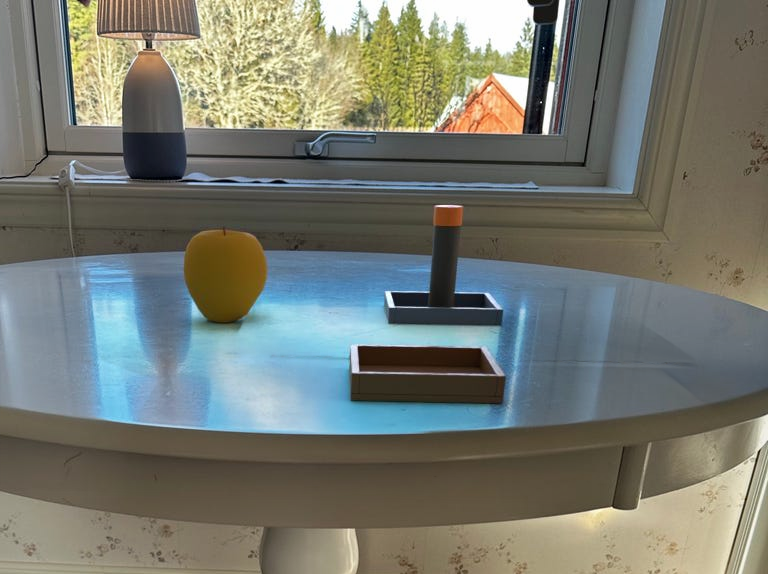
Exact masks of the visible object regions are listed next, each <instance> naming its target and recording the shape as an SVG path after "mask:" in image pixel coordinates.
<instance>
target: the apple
mask: <svg viewBox="0 0 768 574" xmlns="http://www.w3.org/2000/svg"><path fill="white" fill-rule="evenodd" d="M183 258H184V259H183V278H184V279H183V280H184V283H185V285H186V288H187V292H188V293H189V295H190V297H191V299H192V301H193V303H194V304H195V306H196V308H197V309H198V312H200V314H201V315H202V316H203V318H205V319H207V320H208V321H210V322H215V323H223V324H224V323H225V324H226V323H232V322H236V321H239V320H242V319H243V318H244V317H245V316H247V315H248V314H249V312H250V311H251V309H252V308H253V306H254V305H255V303H256V301H258V298H259V297H260V295H261V294H262V293H263V291H264V288H265V286H266V282H267V279H268V262H267V261H268V260H267V256H266V254H265V252H264V248H263V246H262V244H261V243H260V241H259V240H258V239H257V237H256V236H255V235H253V234H251V233H250V232H245V231H244V232H243V231H237V230H230V229H229V230H228V229H226V226H222V229H212V230H203V231H200V232H199V233H198V232H197V234H195V235H194V236H192V237H191V239H190V241H189V242H188V244H187V246H186V249H185V252H184V256H183Z"/></svg>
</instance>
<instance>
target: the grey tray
mask: <svg viewBox="0 0 768 574" xmlns="http://www.w3.org/2000/svg"><path fill="white" fill-rule="evenodd" d="M428 302H429V291H402V290H401V291H399V290H398V291H396V290H392V291H390V290H385V291H384V298H383V307H384V312H385V316H386V320H387V324H388V325H436V326H438V325H440V326H441V325H442V326H488V327H489V326H491V327H492V326H497V327H499V326H500V327H501V326H502V325H503V317H504V309H503V307H502V306H501V305H500V304H499V302H498V301H497V300H496V299H495V298H494V297H493V295H491V293H489V292H467V291H466V292H461V291H460V292H459V291H458V292H457V291H455V296H454V307H453V308H446V307H428Z"/></svg>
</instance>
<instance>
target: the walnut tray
mask: <svg viewBox="0 0 768 574" xmlns="http://www.w3.org/2000/svg"><path fill="white" fill-rule="evenodd" d="M348 366H349V367H348V371H349V374H348V375H349V394H350V395H349V396H350V401H357V402H359V401H360V402H361V401H362V402H368V401H369V402H410V403H411V402H412V403H418V402H419V403H461V404H465V403H466V404H503V403H504V396H505V390H506V380H507V376H506V374H505V372H504V371H503V369H502V368H501V366H500V365H499V363H498V362H497V360H496V359H495V357H494V356H493V353H492V352H491V351H490V349H489V347H488V346H470V345H469V346H467V345H466V346H465V345H463V346H461V345H415V344H414V345H412V344H411V345H407V344H361V343H360V344H359V343H358V344H353V343H352V344H349V365H348Z"/></svg>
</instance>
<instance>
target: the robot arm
mask: <svg viewBox="0 0 768 574" xmlns="http://www.w3.org/2000/svg"><path fill="white" fill-rule="evenodd" d="M526 1H527V2H526V3H527V4H528V6H529V7H531V8H533V12H532V21H533V23H534V24H535V25H536V26H545V25H553V24H555V23H556V22H557V21H558V17H559V5H560V0H526Z"/></svg>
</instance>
